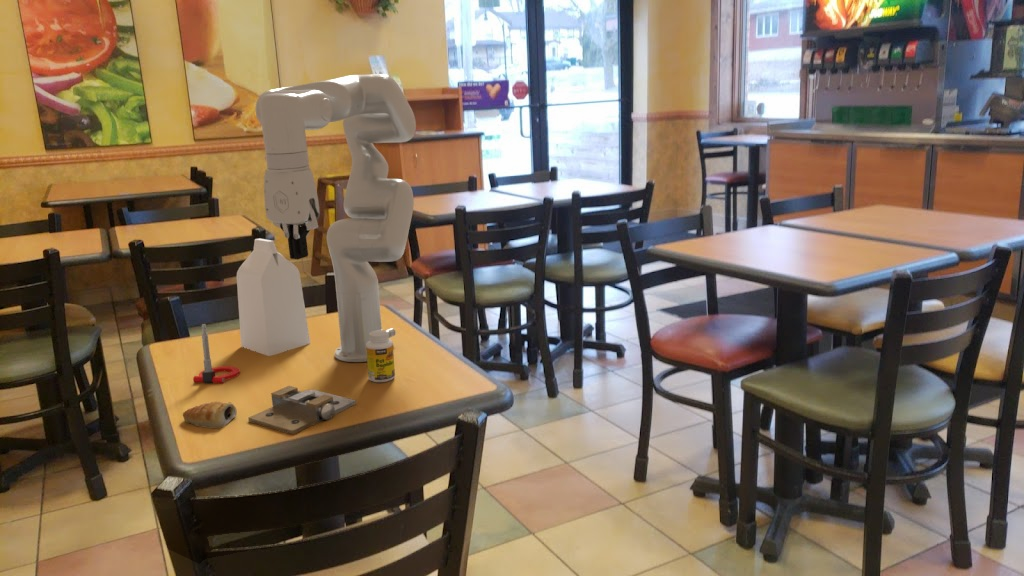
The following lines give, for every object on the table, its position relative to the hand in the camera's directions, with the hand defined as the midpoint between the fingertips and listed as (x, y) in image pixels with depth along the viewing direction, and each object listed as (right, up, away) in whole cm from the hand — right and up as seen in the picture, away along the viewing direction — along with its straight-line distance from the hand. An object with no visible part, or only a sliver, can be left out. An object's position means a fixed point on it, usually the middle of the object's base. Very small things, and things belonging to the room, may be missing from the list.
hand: (299, 257), depth 151 cm
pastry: (-16, -31, -3) cm, 35 cm away
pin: (+1, -30, -1) cm, 30 cm away
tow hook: (-23, -25, +20) cm, 40 cm away
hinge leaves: (+1, -30, -1) cm, 30 cm away
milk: (-17, -20, +40) cm, 48 cm away
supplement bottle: (+13, -25, +16) cm, 33 cm away
